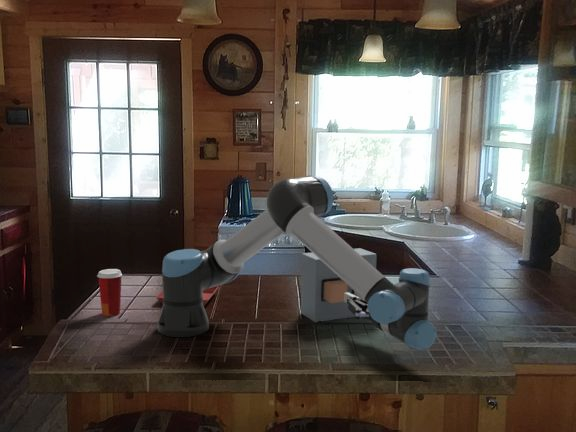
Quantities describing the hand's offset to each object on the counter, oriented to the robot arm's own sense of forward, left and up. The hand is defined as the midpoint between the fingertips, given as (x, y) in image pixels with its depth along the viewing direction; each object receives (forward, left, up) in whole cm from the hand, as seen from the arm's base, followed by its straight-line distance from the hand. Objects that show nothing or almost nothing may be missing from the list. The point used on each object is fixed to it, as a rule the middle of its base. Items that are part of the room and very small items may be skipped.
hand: (346, 296), depth 189 cm
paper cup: (-1, +76, -10) cm, 76 cm away
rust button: (+5, +4, -3) cm, 7 cm away
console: (+14, +4, -10) cm, 18 cm away
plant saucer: (+20, +57, -11) cm, 61 cm away
